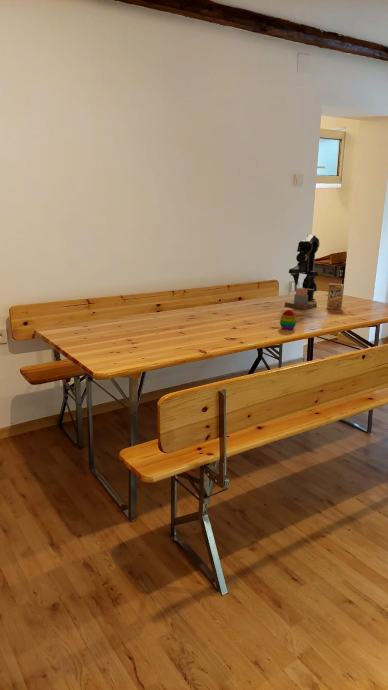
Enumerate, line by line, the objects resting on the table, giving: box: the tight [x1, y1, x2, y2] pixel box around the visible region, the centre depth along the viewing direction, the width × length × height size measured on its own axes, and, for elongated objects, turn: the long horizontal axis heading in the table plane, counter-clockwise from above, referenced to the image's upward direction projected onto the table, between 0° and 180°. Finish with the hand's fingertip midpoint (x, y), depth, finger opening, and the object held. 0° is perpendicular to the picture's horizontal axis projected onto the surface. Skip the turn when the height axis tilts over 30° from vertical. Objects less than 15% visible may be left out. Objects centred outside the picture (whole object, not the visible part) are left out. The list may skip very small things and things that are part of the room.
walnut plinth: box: [284, 300, 318, 311], centre depth 320 cm, size 14×14×2 cm
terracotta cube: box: [295, 287, 308, 296], centre depth 318 cm, size 5×5×4 cm
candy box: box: [326, 283, 345, 311], centre depth 315 cm, size 9×4×15 cm, turn 70°
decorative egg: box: [279, 309, 297, 331], centre depth 264 cm, size 8×8×10 cm
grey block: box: [293, 294, 309, 304], centre depth 319 cm, size 6×6×5 cm
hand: (302, 286), depth 317 cm, fingers open, 9 cm apart
